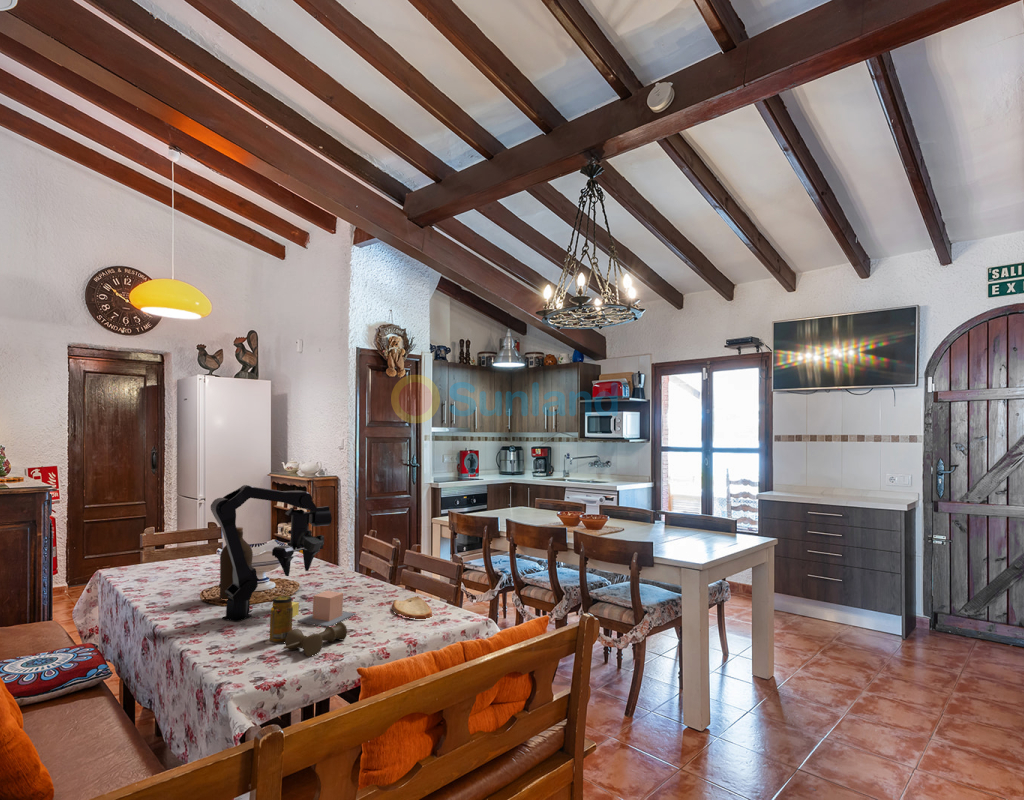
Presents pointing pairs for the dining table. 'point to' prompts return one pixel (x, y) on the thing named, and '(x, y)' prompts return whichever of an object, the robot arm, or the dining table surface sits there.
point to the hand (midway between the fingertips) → (297, 573)
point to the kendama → (314, 639)
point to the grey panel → (326, 623)
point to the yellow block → (295, 608)
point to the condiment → (280, 619)
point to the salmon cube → (327, 605)
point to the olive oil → (227, 566)
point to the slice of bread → (412, 608)
